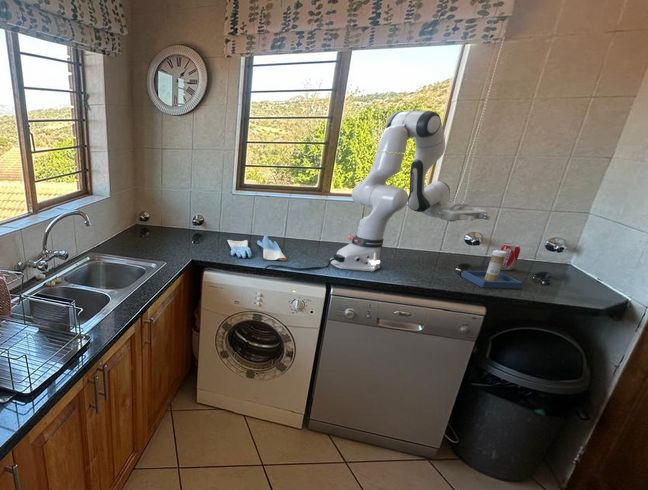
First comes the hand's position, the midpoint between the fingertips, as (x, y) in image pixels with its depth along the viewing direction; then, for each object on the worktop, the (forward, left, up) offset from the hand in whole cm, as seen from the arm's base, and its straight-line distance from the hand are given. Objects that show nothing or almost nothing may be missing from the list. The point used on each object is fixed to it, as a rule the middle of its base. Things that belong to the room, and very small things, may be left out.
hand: (480, 218), depth 178 cm
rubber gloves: (-92, +27, -26) cm, 99 cm away
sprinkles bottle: (+4, -12, -25) cm, 28 cm away
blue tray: (+3, -12, -26) cm, 29 cm away
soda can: (+23, +7, -26) cm, 36 cm away
